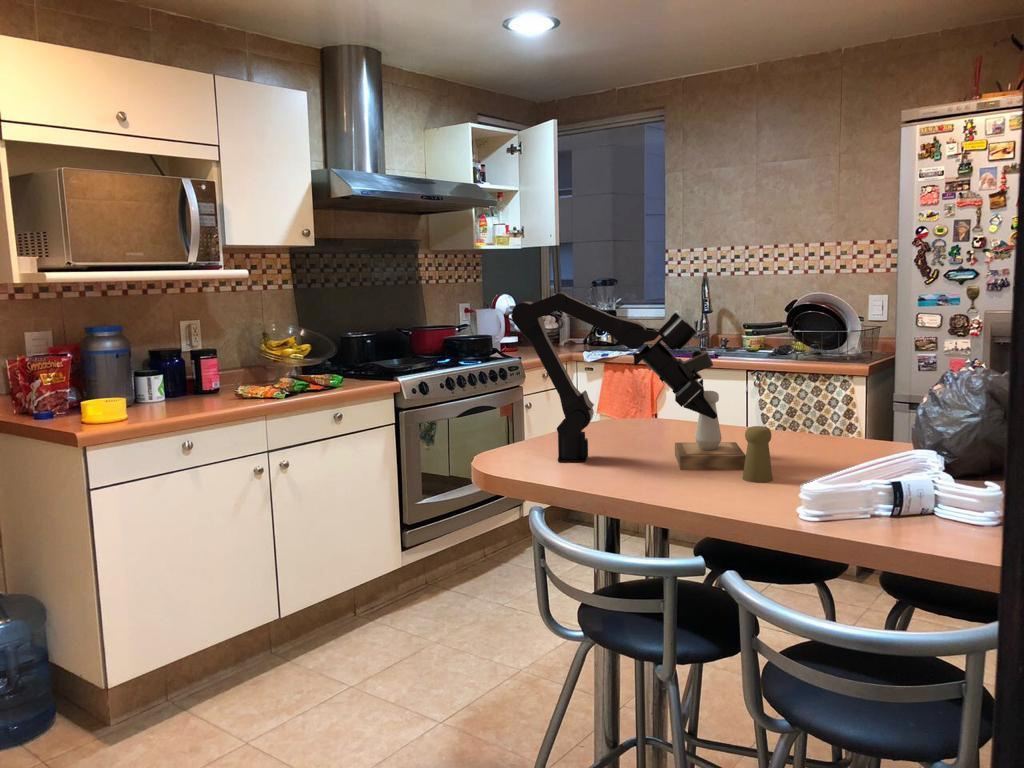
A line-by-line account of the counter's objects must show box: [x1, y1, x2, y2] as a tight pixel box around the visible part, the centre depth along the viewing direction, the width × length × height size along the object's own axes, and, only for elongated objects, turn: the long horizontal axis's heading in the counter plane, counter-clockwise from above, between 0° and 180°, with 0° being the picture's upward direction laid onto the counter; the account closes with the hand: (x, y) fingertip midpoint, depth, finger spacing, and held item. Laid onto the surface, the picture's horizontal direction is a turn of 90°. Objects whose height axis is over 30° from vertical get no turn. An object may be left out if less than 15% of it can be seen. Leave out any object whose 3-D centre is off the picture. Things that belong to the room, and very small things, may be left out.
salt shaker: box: [694, 390, 723, 450], centre depth 182 cm, size 6×6×13 cm
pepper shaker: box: [742, 425, 774, 484], centre depth 167 cm, size 6×6×11 cm
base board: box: [674, 441, 746, 471], centre depth 184 cm, size 14×14×3 cm
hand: (715, 413), depth 182 cm, fingers open, 9 cm apart
